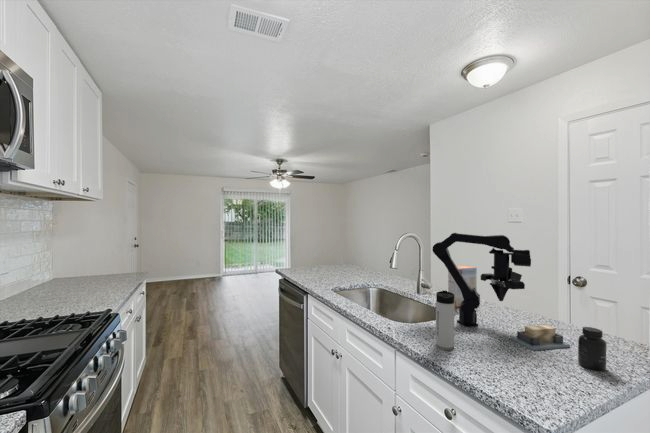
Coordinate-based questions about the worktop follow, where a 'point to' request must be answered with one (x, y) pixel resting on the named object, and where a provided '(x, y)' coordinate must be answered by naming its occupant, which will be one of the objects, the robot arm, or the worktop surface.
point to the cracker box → (469, 276)
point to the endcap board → (535, 342)
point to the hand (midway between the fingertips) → (501, 301)
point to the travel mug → (445, 320)
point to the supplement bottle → (592, 349)
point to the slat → (541, 332)
